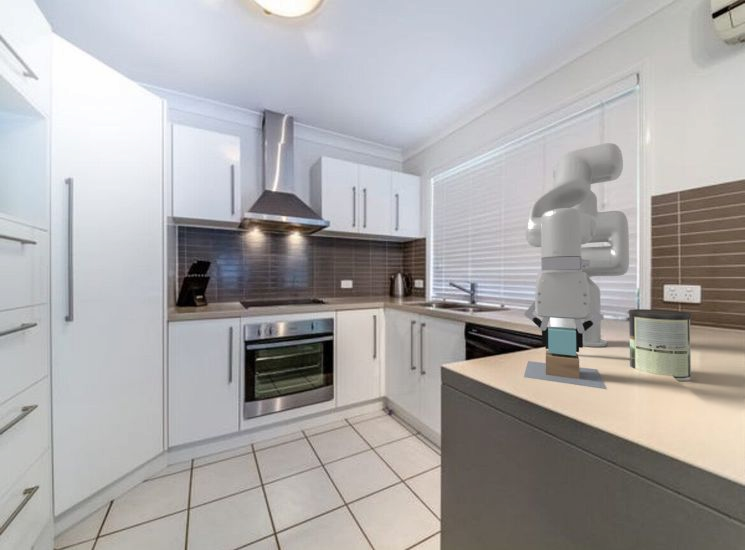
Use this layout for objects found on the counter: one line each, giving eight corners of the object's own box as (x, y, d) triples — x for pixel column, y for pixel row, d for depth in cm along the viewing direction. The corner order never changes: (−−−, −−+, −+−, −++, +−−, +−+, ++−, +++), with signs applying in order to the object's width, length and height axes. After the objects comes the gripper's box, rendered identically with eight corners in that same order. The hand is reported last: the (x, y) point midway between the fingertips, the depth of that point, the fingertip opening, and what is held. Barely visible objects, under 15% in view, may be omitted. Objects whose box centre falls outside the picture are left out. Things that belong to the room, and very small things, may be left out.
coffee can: (618, 366, 75) (617, 309, 75) (664, 367, 74) (663, 309, 74) (652, 380, 64) (652, 314, 64) (706, 382, 63) (705, 314, 63)
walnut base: (546, 367, 71) (546, 350, 71) (577, 371, 68) (577, 353, 68) (545, 374, 65) (545, 356, 66) (579, 379, 62) (579, 359, 62)
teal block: (548, 348, 70) (548, 326, 70) (574, 350, 67) (574, 328, 67) (548, 352, 66) (548, 329, 66) (576, 355, 63) (576, 331, 63)
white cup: (544, 355, 86) (543, 301, 86) (559, 352, 89) (559, 300, 89) (568, 360, 80) (568, 303, 80) (584, 357, 82) (583, 302, 83)
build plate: (528, 364, 76) (528, 360, 76) (597, 373, 69) (597, 369, 69) (523, 381, 64) (523, 376, 64) (607, 394, 57) (606, 389, 57)
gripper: (606, 265, 66) (607, 350, 66) (519, 267, 74) (520, 342, 74) (612, 264, 59) (613, 358, 59) (516, 266, 68) (517, 348, 68)
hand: (561, 348), depth 67 cm, fingers closed on teal block, 4 cm apart
